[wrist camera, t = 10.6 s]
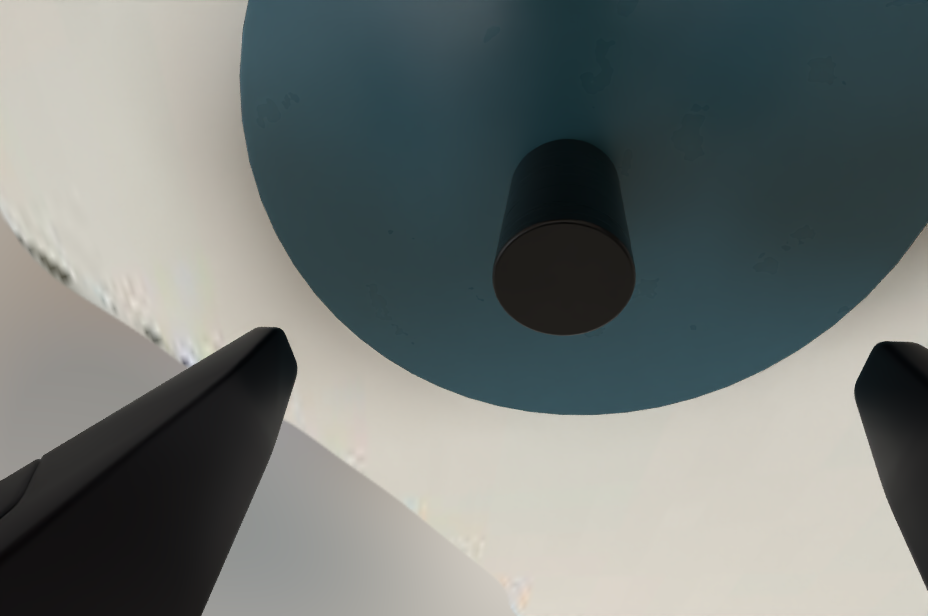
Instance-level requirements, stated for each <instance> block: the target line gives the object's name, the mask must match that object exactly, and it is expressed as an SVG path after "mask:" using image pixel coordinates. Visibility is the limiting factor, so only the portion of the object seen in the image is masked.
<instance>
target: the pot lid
mask: <svg viewBox="0 0 928 616" xmlns="http://www.w3.org/2000/svg"><path fill="white" fill-rule="evenodd" d="M240 92H241V110H242V123H243V128H244V134H245V140H246V145H247V151H248V156H249V162H250V165H251V168H252V172H253V175H254V178H255V181H256V185H257V188H258V191H259V195H260V198H261V201H262V203H263V205H264V207H265V210H266V212H267V214H268V217H269V219H270V221H271V224H272V226H273V228H274V230H275V233H276V235H277V236H278V238H279V240H280V242H281V243H282V245H283V247H284V249H285V250H286V252H287V254H288V256H289V257H290V259H291V261H292V263H293V264H294V266H295V267H296V268H297V270H298V271H299V273H300V274H301V275H302V277H303V278H304V279H305V281H306V282H307V284H308V285H309V286H310V288H311V289H312V290H313V292H314V293H315V294H316V295H317V296H318V297H319V299H320V300H321V301H322V302H323V303H324V304H325V305H326V306H327V307H328V309H329V310H330V311H331V312H332V313H333V314H334V315H335V316H336V317H337V318H338V319H339V320H340V321H341V322H342V323H343V324H344V325H346V326H347V327H348V328H349V329H350V330H351V331H352V332H353V333H354V334H355V335H357V336H358V337H359V338H360V339H361V340H363V341H364V342H365V343H367V344H368V345H369V346H371V347H372V348H373V349H375V350H376V351H377V352H379V353H380V354H381V355H383V356H384V357H386V358H387V359H389V360H390V361H392V362H394V363H395V364H397V365H399V366H400V367H402V368H404V369H405V370H407V371H409V372H410V373H412V374H414V375H416V376H418V377H420V378H422V379H424V380H427V381H429V382H431V383H433V384H435V385H437V386H439V387H441V388H444V389H447V390H449V391H452V392H455V393H457V394H460V395H463V396H465V397H468V398H471V399H475V400H479V401H482V402H486V403H489V404H493V405H497V406H501V407H507V408H512V409H517V410H523V411H528V412H538V413H548V414H559V415H600V414H613V413H626V412H632V411H638V410H644V409H651V408H657V407H662V406H666V405H670V404H674V403H677V402H681V401H685V400H689V399H693V398H696V397H699V396H702V395H705V394H708V393H711V392H713V391H716V390H719V389H722V388H725V387H728V386H730V385H732V384H735V383H737V382H739V381H741V380H743V379H745V378H748V377H750V376H752V375H754V374H756V373H759V372H761V371H763V370H765V369H767V368H768V367H770V366H772V365H774V364H775V363H777V362H779V361H781V360H782V359H784V358H786V357H788V356H789V355H791V354H793V353H795V352H796V351H798V350H800V349H801V348H802V347H804V346H805V345H807V344H808V343H809V342H811V341H812V340H814V339H815V338H817V337H818V336H819V335H821V334H822V333H824V332H825V331H826V330H828V329H829V328H831V327H832V326H833V325H835V324H836V323H837V322H838V321H839V320H840V319H841V318H843V317H844V316H845V315H846V314H847V313H848V312H849V311H851V310H852V309H853V308H854V307H855V306H856V305H858V304H859V303H860V302H861V301H862V300H863V299H864V298H866V297H867V296H868V294H869V293H870V292H871V291H872V290H873V289H874V288H875V287H876V286H877V285H878V284H879V283H880V282H881V280H882V279H883V278H884V277H885V276H886V275H887V274H888V273H889V272H890V271H891V270H892V269H893V268H894V267H895V265H896V264H897V263H898V262H899V261H900V259H901V258H902V257H903V255H904V254H905V253H906V251H907V250H908V249H909V247H910V246H911V245H912V243H913V242H914V240H915V239H916V238H917V236H918V235H919V234H920V232H921V231H922V230H923V228H924V227H925V226H926V224H927V223H928V0H249V1H248V6H247V11H246V16H245V21H244V26H243V35H242V49H241V63H240Z"/></svg>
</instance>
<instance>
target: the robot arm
mask: <svg viewBox="0 0 928 616" xmlns="http://www.w3.org/2000/svg"><path fill="white" fill-rule="evenodd" d="M296 376H297V362H296V359H295V357H294V355H293V352H292V350H291V347H290V345H289V342H288V340H287V337H286V335H285V333H284V331H283V330H282V329H280V328H277V327H258V328H255V329H253V330H251V331H250V332H248V333H246V334H245V335H243V336H241V337H240V338H238V339H236V340H235V341H233V342H231V343H230V344H228V345H226V346H225V347H223V348H221V349H220V350H218V351H216V352H215V353H213V354H211V355H210V356H208V357H206V358H205V359H203V360H201V361H200V362H198V363H196V364H195V365H193V366H191V367H190V368H188V369H186V370H185V371H183V372H181V373H180V374H178V375H176V376H175V377H173V378H171V379H170V380H168V381H166V382H165V383H163V384H161V385H160V386H158V387H156V388H155V389H153V390H151V391H150V392H148V393H146V394H145V395H143V396H141V397H140V398H138V399H136V400H135V401H133V402H132V403H130V404H128V405H126V406H125V407H123V408H121V409H120V410H118V411H116V412H115V413H113V414H111V415H110V416H108V417H106V418H105V419H103V420H102V421H100V422H98V423H96V424H95V425H93V426H91V427H90V428H88V429H86V430H85V431H83V432H81V433H80V434H78V435H77V436H75V437H73V438H72V439H70V440H68V441H67V442H65V443H63V444H61V445H60V446H58V447H56V448H55V449H53V450H52V451H50V452H48V453H47V454H45V455H43V457H42V458H41V459H37V460H35V461H33V462H31V463H30V464H28V465H26V466H25V467H23V468H21V469H20V470H18V471H16V472H15V473H13V474H11V475H10V476H8V477H7V478H5V479H3V480H1V481H0V616H201V615H202V613H203V610H204V608H205V606H206V603H207V601H208V599H209V597H210V594H211V592H212V590H213V587H214V585H215V583H216V581H217V578H218V576H219V574H220V571H221V569H222V567H223V564H224V562H225V560H226V558H227V555H228V553H229V551H230V548H231V546H232V544H233V542H234V539H235V537H236V535H237V532H238V530H239V528H240V526H241V523H242V521H243V519H244V516H245V514H246V512H247V510H248V507H249V505H250V503H251V500H252V498H253V496H254V494H255V491H256V489H257V487H258V484H259V482H260V480H261V478H262V475H263V473H264V471H265V468H266V466H267V464H268V461H269V459H270V456H271V454H272V451H273V448H274V445H275V443H276V440H277V436H278V433H279V430H280V427H281V424H282V421H283V418H284V414H285V411H286V408H287V405H288V402H289V399H290V395H291V392H292V389H293V386H294V383H295V379H296ZM854 394H855V400H856V404H857V407H858V410H859V413H860V417H861V420H862V423H863V426H864V429H865V433H866V436H867V439H868V442H869V445H870V449H871V452H872V455H873V458H874V461H875V465H876V468H877V471H878V474H879V477H880V480H881V483H882V486H883V489H884V492H885V495H886V498H887V500H888V503H889V505H890V507H891V510H892V512H893V514H894V517H895V519H896V521H897V523H898V526H899V528H900V530H901V532H902V535H903V537H904V539H905V541H906V543H907V546H908V548H909V550H910V552H911V555H912V557H913V559H914V561H915V564H916V566H917V568H918V570H919V572H920V575H921V577H922V579H923V581H924V584H925V586H926V588H927V590H928V349H927V348H925V347H923V346H921V345H919V344H917V343H913V342H890V341H885V342H880V343H878V344H877V345H876V346H874V348H873V349H872V351H871V353H870V355H869V357H868V359H867V361H866V363H865V365H864V367H863V369H862V371H861V373H860V375H859V377H858V379H857V381H856V384H855V390H854Z"/></svg>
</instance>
